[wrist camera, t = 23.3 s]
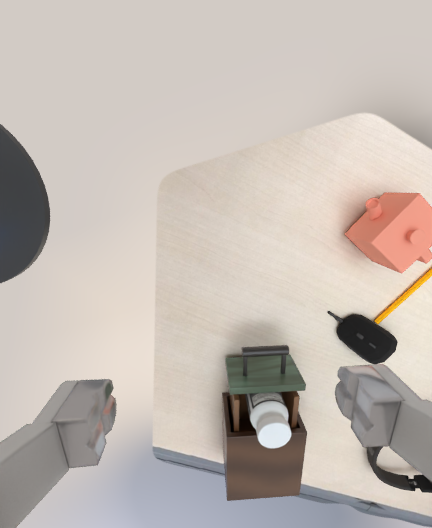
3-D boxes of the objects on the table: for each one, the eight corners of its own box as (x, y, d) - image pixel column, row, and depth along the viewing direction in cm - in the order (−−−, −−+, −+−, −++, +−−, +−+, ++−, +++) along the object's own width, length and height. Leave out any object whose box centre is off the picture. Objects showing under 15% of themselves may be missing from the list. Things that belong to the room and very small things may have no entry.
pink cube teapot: (365, 177, 35) (412, 174, 27) (414, 229, 38) (469, 240, 30) (326, 219, 37) (360, 227, 29) (375, 266, 39) (418, 286, 32)
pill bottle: (269, 396, 44) (288, 454, 34) (239, 391, 43) (249, 449, 33) (279, 370, 42) (301, 423, 33) (247, 365, 41) (260, 418, 32)
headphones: (478, 513, 47) (370, 499, 49) (448, 471, 54) (354, 460, 56) (512, 450, 42) (390, 437, 44) (473, 413, 49) (370, 403, 51)
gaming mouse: (340, 297, 41) (354, 308, 37) (398, 339, 44) (417, 353, 40) (315, 324, 42) (327, 338, 38) (373, 363, 45) (389, 379, 41)
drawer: (225, 333, 41) (229, 360, 34) (292, 329, 41) (309, 356, 35) (226, 417, 46) (229, 454, 40) (285, 413, 46) (298, 450, 40)
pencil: (463, 243, 39) (467, 244, 38) (375, 322, 42) (378, 324, 42) (460, 240, 39) (465, 241, 38) (373, 320, 42) (375, 322, 42)
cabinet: (222, 392, 45) (226, 437, 37) (288, 388, 46) (307, 432, 38) (223, 449, 50) (227, 501, 41) (283, 445, 50) (299, 495, 42)
